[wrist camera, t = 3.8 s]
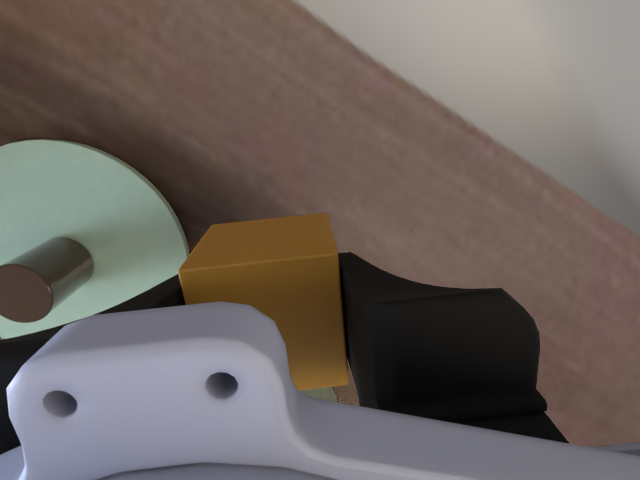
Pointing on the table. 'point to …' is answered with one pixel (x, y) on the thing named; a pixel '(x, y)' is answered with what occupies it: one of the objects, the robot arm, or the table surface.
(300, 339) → the block
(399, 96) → the table surface
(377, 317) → the robot arm
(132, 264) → the lid
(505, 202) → the table surface
